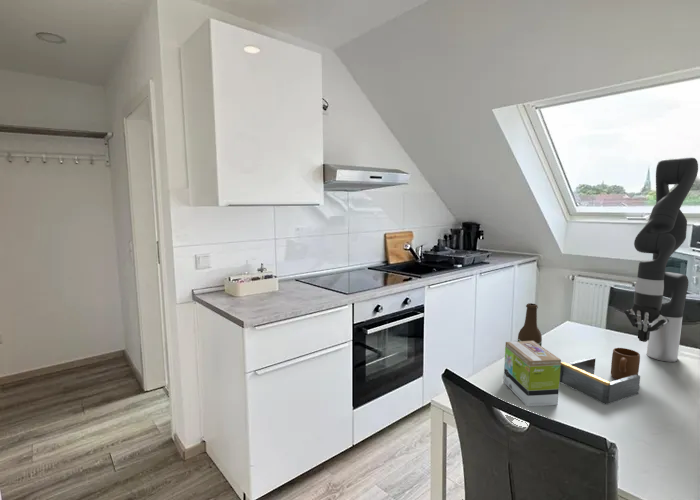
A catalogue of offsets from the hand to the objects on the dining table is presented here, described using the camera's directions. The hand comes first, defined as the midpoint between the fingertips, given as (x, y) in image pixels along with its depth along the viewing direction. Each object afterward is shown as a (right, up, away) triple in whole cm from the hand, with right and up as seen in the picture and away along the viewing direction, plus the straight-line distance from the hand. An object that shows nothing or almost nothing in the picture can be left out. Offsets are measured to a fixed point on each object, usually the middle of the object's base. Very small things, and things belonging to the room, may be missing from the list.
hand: (642, 340), depth 130 cm
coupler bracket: (-20, -14, -7) cm, 25 cm away
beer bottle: (-36, -12, +7) cm, 39 cm away
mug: (-8, -13, -2) cm, 16 cm away
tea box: (-44, -14, -11) cm, 48 cm away
